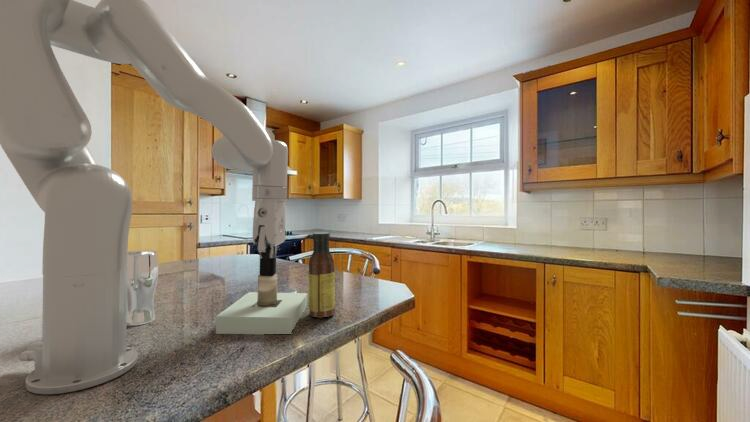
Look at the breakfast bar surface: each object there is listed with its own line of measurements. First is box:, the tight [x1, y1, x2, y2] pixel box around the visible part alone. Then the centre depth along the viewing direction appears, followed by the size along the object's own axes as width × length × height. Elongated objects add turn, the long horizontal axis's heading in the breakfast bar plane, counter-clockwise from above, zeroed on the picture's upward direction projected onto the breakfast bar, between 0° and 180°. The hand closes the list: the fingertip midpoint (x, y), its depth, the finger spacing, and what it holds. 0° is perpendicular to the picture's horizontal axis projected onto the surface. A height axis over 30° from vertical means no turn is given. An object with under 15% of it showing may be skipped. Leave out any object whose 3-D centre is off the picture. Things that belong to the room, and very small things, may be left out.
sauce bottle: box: [308, 231, 336, 319], centre depth 76 cm, size 6×6×20 cm
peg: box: [257, 273, 278, 307], centre depth 73 cm, size 4×4×10 cm
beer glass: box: [126, 250, 159, 327], centre depth 69 cm, size 7×7×15 cm
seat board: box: [215, 291, 308, 335], centre depth 73 cm, size 15×18×4 cm
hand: (267, 274), depth 73 cm, fingers closed
